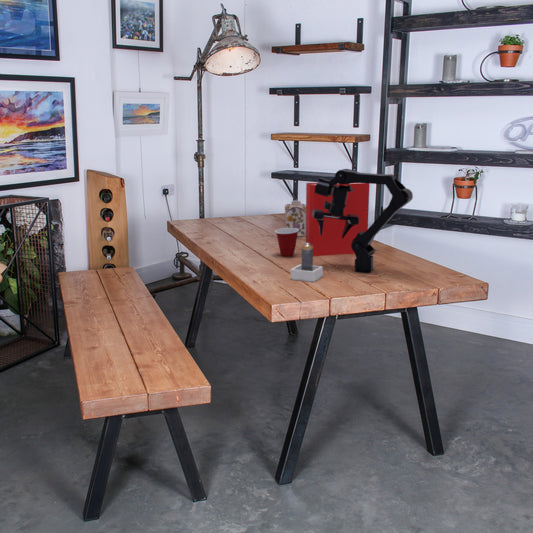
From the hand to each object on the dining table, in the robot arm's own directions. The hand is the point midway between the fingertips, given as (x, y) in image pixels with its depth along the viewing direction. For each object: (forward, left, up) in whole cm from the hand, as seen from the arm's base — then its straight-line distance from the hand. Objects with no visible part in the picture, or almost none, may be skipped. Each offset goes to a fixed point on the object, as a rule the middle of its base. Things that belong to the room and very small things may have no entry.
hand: (331, 236), depth 253 cm
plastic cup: (+26, -12, -13) cm, 31 cm away
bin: (+2, +20, -13) cm, 24 cm away
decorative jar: (+41, -59, -13) cm, 73 cm away
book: (+8, -27, -13) cm, 31 cm away
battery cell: (+2, +20, -12) cm, 24 cm away
